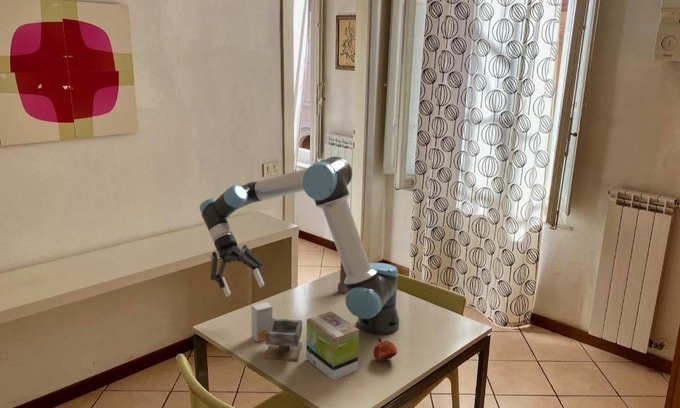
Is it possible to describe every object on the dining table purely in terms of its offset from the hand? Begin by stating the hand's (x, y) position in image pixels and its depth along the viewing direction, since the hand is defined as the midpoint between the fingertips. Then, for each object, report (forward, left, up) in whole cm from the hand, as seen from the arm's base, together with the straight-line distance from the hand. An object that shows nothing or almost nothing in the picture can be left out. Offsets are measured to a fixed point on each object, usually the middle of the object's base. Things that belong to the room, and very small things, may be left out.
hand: (245, 290), depth 193 cm
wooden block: (-35, -38, -14) cm, 54 cm away
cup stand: (-16, +15, -14) cm, 26 cm away
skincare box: (-7, +7, -14) cm, 17 cm away
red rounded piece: (-49, +17, -14) cm, 54 cm away
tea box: (-32, +21, -14) cm, 41 cm away
